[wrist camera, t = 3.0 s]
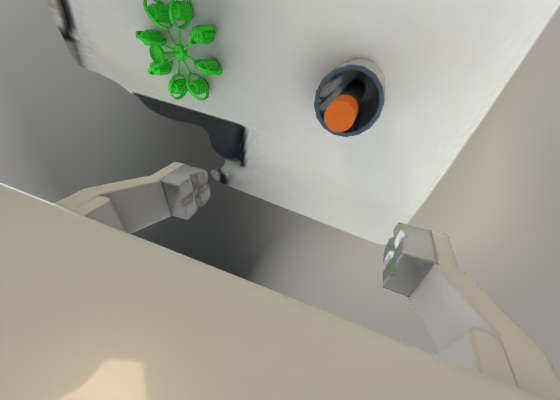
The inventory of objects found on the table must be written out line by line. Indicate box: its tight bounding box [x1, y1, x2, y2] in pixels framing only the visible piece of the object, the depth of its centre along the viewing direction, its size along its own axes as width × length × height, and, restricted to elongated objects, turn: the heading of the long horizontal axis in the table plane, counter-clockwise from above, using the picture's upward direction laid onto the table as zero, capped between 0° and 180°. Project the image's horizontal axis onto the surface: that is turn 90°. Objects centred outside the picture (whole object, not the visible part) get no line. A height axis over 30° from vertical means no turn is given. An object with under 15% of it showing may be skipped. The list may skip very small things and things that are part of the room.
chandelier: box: [136, 0, 222, 101], centre depth 35 cm, size 15×15×7 cm
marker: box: [324, 80, 365, 132], centre depth 26 cm, size 3×3×14 cm
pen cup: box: [314, 58, 385, 137], centre depth 28 cm, size 7×7×9 cm
